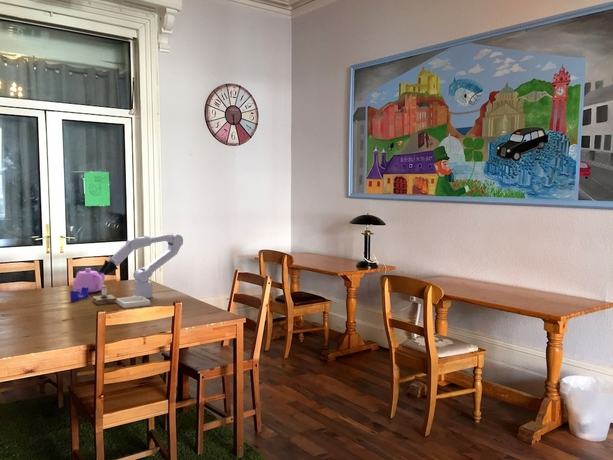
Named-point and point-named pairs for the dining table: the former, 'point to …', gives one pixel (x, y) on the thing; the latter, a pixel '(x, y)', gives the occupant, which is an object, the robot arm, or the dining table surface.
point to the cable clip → (79, 294)
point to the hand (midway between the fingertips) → (102, 273)
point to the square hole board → (104, 299)
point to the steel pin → (104, 291)
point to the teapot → (88, 280)
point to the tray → (133, 301)
